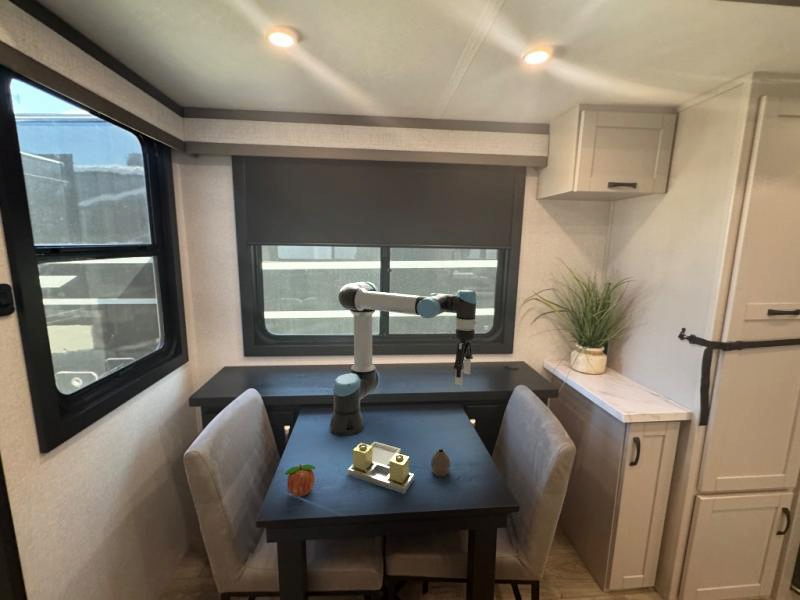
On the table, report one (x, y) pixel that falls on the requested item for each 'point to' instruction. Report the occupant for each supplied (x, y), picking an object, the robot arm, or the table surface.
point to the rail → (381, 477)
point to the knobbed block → (399, 469)
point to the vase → (440, 463)
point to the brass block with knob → (362, 457)
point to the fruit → (300, 480)
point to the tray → (383, 453)
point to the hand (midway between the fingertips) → (462, 379)
